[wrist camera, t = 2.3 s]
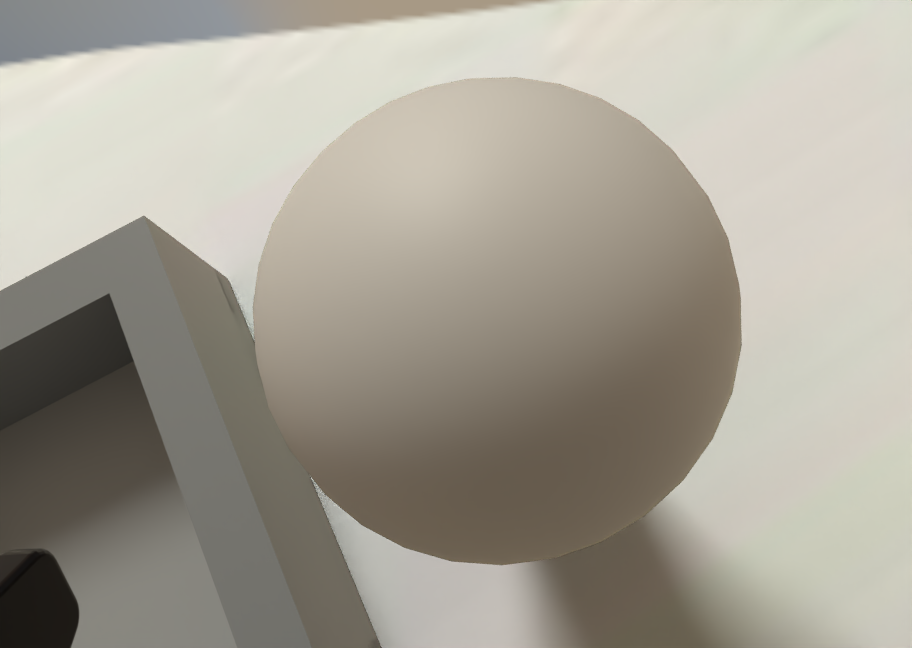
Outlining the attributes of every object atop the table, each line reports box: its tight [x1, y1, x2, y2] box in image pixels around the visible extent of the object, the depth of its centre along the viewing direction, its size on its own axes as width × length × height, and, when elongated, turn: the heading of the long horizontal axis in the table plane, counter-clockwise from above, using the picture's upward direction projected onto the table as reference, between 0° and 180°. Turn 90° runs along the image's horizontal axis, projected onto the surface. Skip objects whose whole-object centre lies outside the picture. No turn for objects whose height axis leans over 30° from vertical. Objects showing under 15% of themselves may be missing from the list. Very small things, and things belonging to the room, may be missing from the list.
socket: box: [0, 216, 381, 648], centre depth 17 cm, size 10×10×4 cm
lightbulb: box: [253, 77, 742, 565], centre depth 13 cm, size 6×6×11 cm
